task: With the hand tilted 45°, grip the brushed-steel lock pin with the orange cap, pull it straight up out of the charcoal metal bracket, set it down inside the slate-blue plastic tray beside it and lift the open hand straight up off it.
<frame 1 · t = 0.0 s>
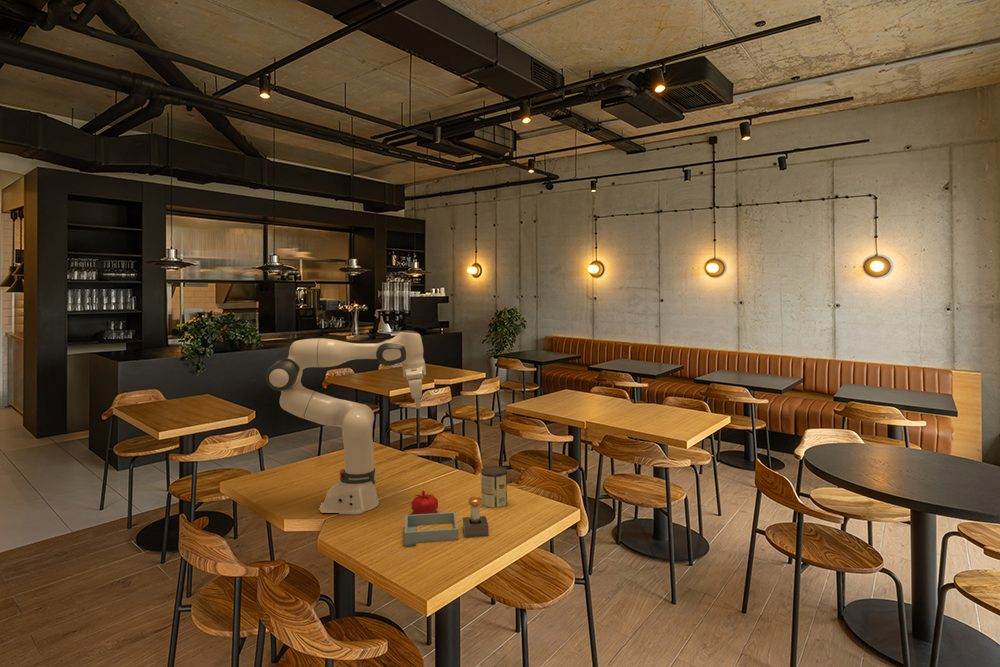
hand: (418, 405, 211), 39 cm above the table, tool pointing down, fingers open, 8 cm apart
lock pin: (475, 531, 183), point 1 cm above the table, touching bracket
coffee can: (494, 505, 210), on the table
pomegranate: (424, 515, 201), on the table
tray: (431, 534, 183), on the table
bracket: (475, 534, 184), on the table
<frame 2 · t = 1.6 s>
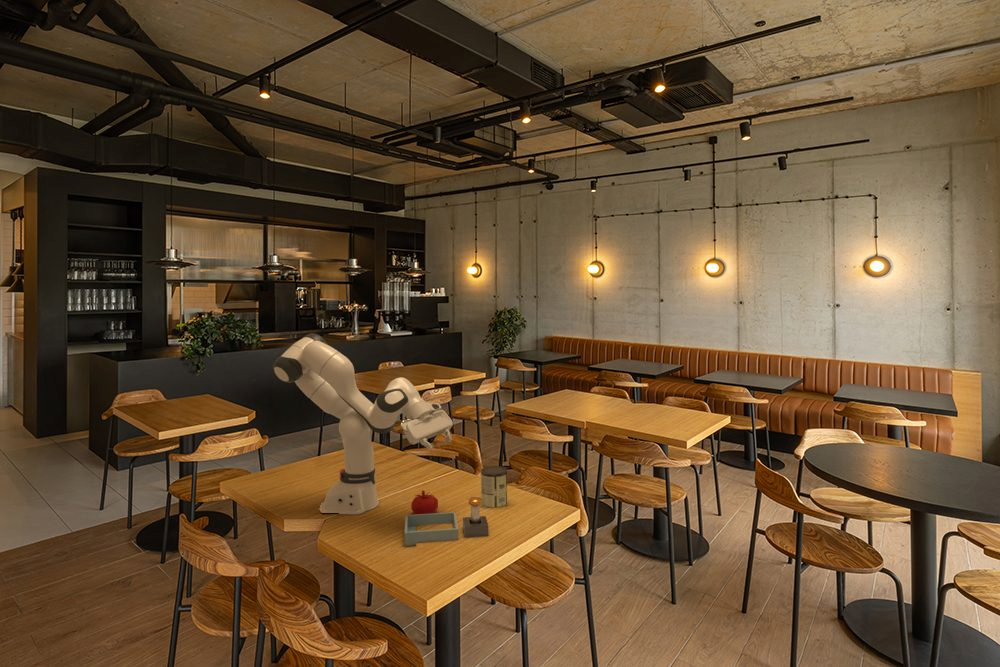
hand: (441, 444, 190), 29 cm above the table, tool tilted 45°, fingers open, 8 cm apart
nothing on the table moved.
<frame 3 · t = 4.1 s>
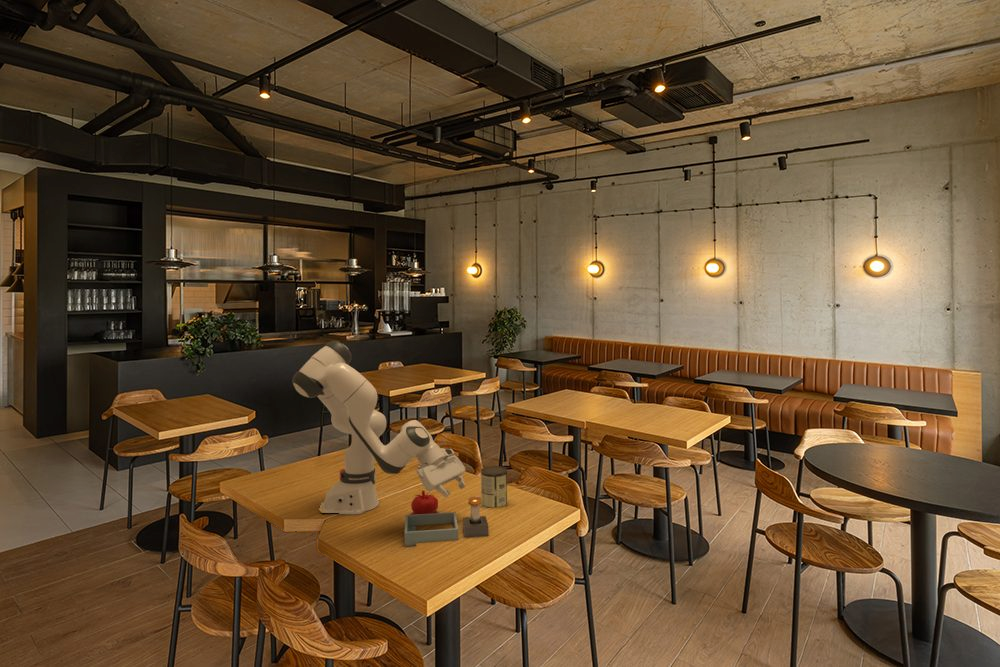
hand: (456, 492, 186), 14 cm above the table, tool tilted 45°, fingers open, 8 cm apart
nothing on the table moved.
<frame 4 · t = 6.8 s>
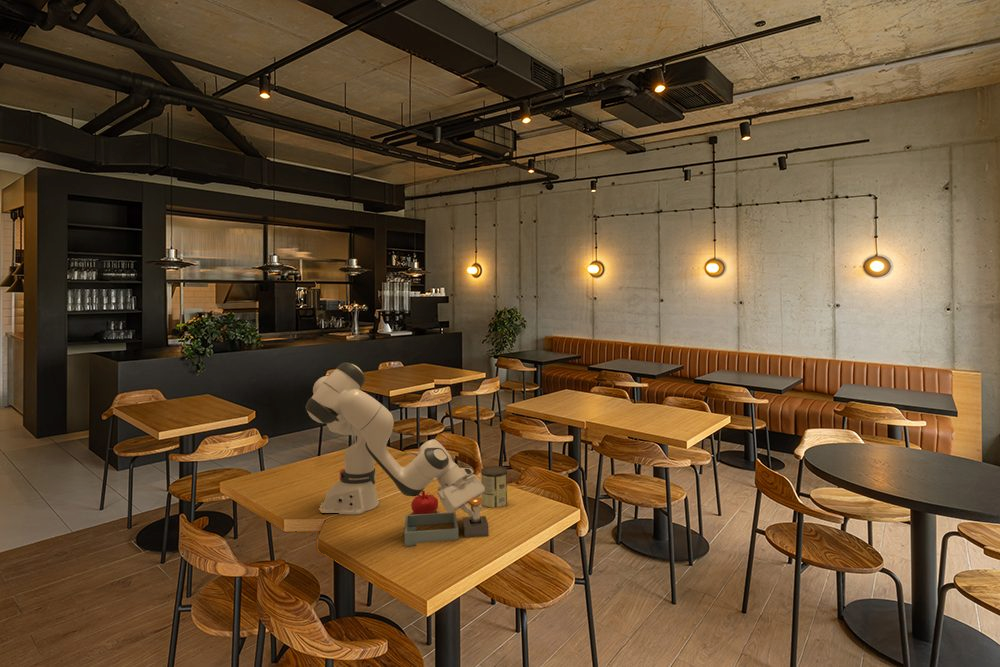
hand: (476, 513, 183), 8 cm above the table, tool tilted 45°, fingers closed on lock pin, 3 cm apart
lock pin: (475, 531, 183), point 1 cm above the table, touching bracket, gripper
everything else where it was.
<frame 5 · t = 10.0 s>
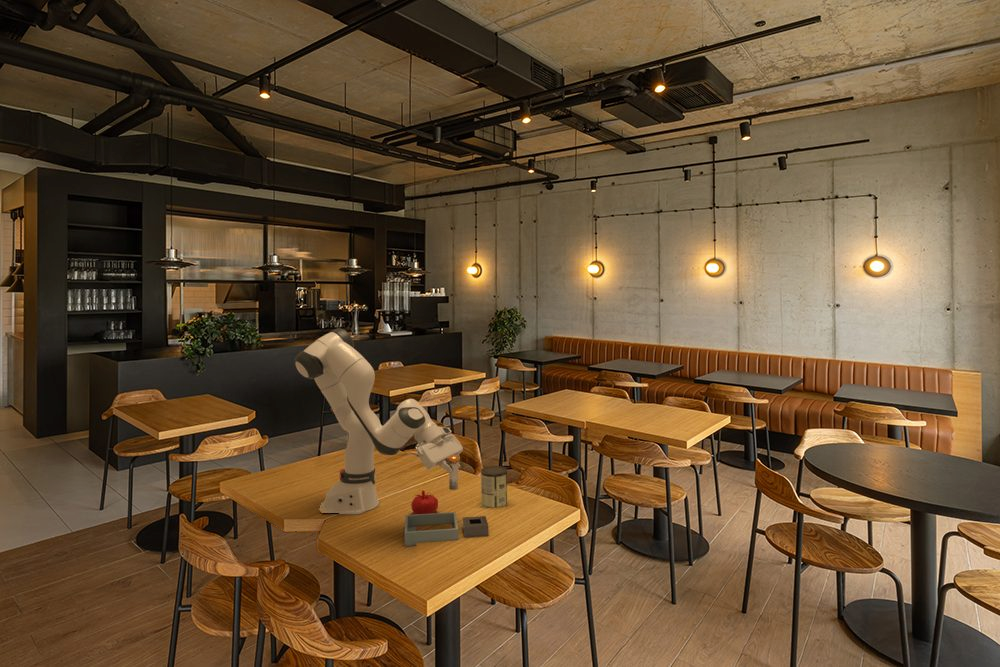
hand: (454, 470, 184), 22 cm above the table, tool tilted 45°, fingers closed on lock pin, 3 cm apart
lock pin: (453, 488, 184), point 16 cm above the table, touching gripper
everything else where it was.
when the fingers open (8 cm above the table, at t = 13.4 s): lock pin drops 1 cm, resting on tray.
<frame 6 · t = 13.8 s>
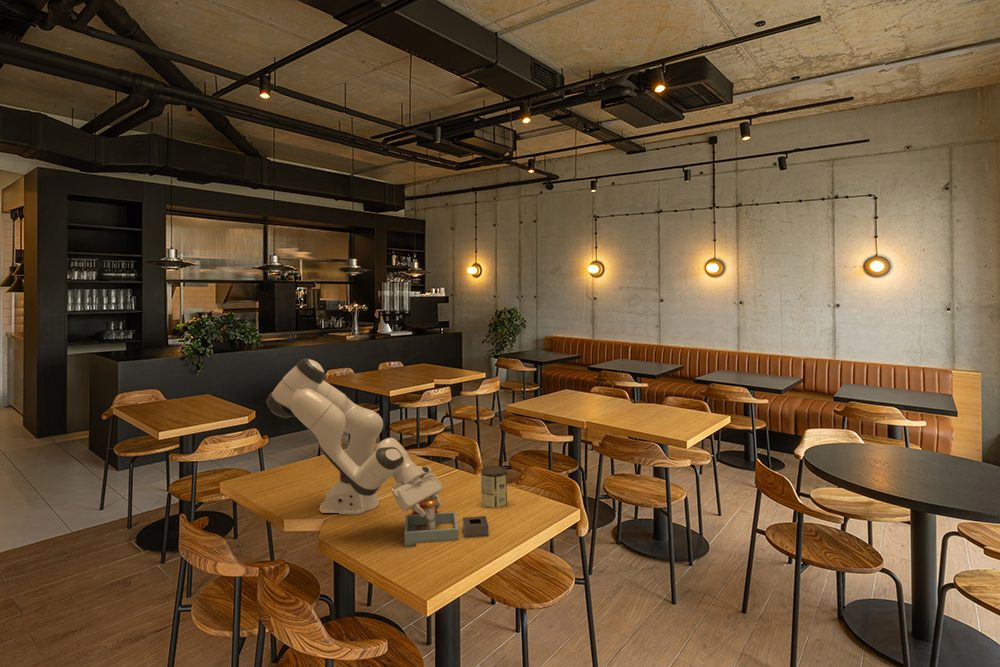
hand: (432, 511, 182), 8 cm above the table, tool tilted 45°, fingers open, 7 cm apart
lock pin: (431, 533, 183), point 1 cm above the table, touching tray
everything else where it was.
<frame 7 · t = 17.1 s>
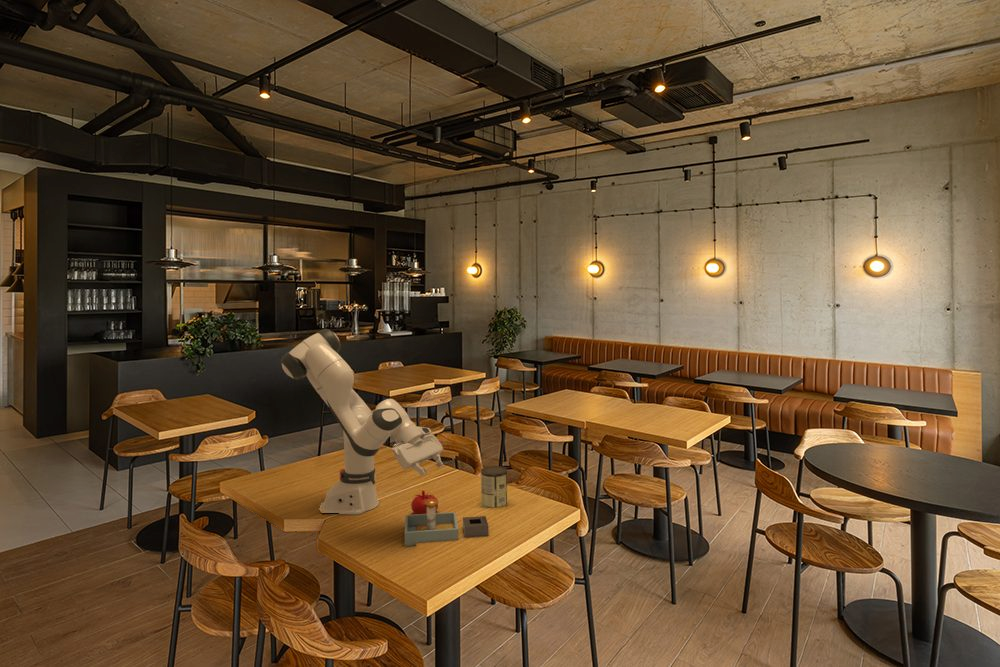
hand: (433, 470, 182), 22 cm above the table, tool tilted 45°, fingers open, 8 cm apart
nothing on the table moved.
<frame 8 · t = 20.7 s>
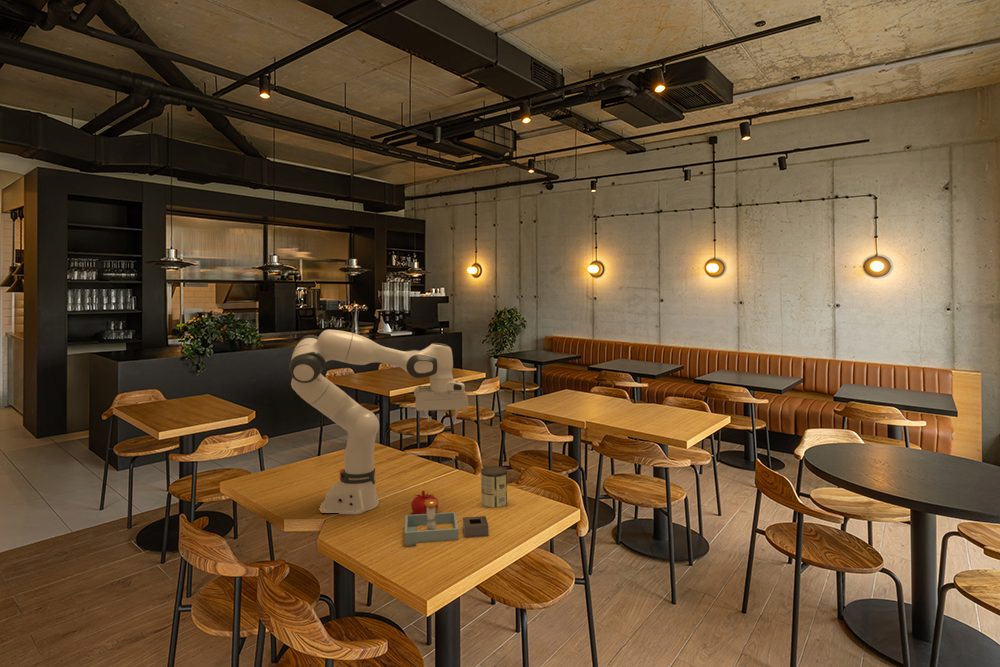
hand: (442, 421, 205), 34 cm above the table, tool pointing down, fingers open, 8 cm apart
nothing on the table moved.
at the end: lock pin inside the target area on the tray (0.0 cm from its centre), point 0.6 cm above the tray's base; the gripper is holding nothing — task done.
